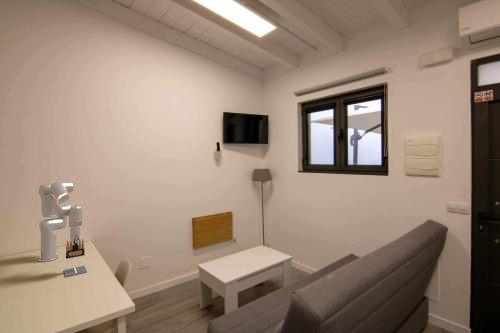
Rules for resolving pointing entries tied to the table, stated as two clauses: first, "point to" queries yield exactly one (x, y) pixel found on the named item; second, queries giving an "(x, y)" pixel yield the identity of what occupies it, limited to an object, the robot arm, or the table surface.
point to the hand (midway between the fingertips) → (75, 250)
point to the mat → (75, 271)
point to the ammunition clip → (71, 253)
